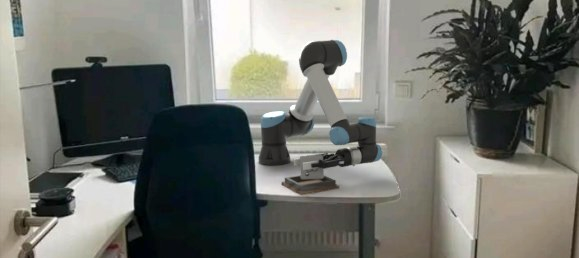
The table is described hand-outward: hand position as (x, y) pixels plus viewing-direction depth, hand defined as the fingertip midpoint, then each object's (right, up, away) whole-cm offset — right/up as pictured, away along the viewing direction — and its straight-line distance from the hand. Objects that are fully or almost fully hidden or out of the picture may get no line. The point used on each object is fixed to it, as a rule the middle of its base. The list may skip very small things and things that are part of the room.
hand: (298, 164), depth 221 cm
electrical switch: (+5, -6, +3) cm, 8 cm away
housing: (+5, -9, +4) cm, 11 cm away
